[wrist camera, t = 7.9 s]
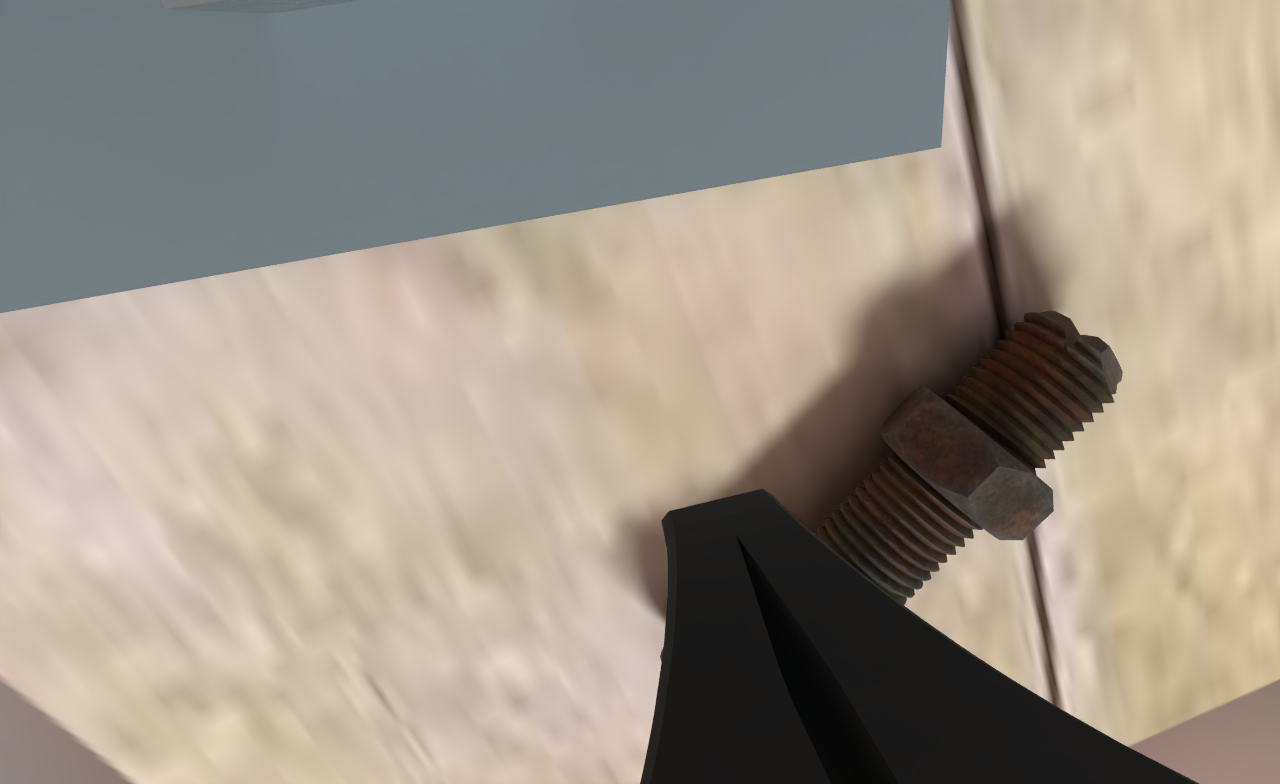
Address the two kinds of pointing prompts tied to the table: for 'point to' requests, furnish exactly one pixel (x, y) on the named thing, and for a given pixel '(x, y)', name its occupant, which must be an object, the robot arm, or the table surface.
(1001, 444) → the bolt
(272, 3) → the valve manifold
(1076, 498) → the table surface
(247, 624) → the table surface
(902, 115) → the mounting plate
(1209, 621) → the table surface
